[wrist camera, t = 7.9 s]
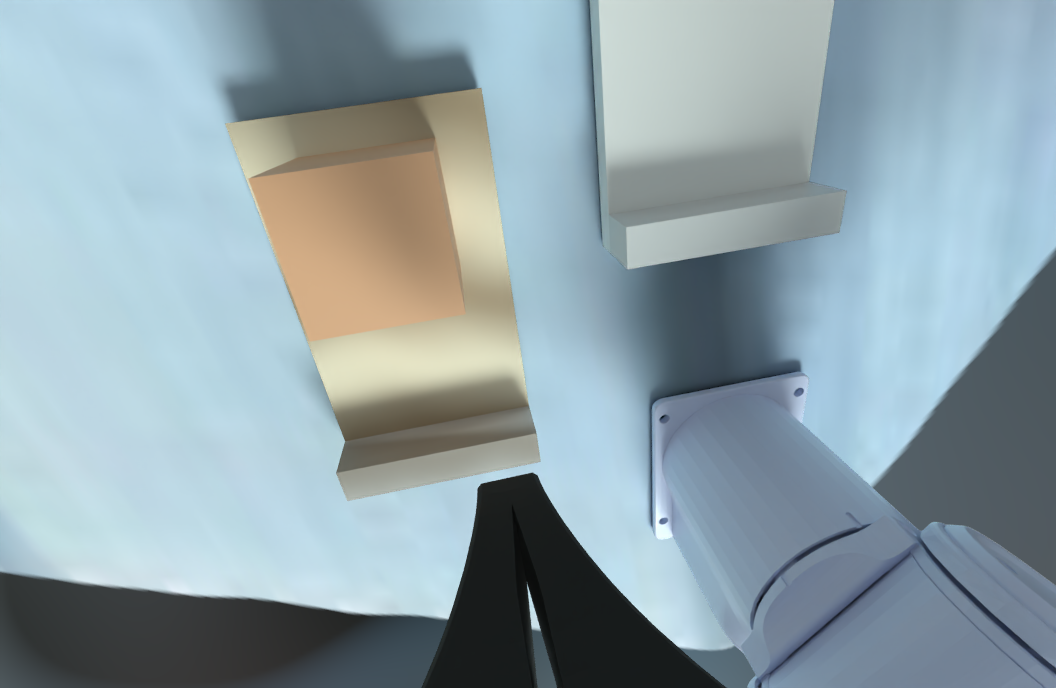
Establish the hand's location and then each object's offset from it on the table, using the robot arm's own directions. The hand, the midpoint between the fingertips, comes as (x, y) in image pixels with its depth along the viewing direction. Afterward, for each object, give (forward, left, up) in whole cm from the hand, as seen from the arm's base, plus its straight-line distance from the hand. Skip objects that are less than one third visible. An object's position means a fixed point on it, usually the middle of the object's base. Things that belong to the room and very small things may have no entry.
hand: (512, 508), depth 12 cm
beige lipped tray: (+2, +3, -10) cm, 11 cm away
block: (+5, +3, -9) cm, 11 cm away
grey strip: (+10, -9, -10) cm, 17 cm away
